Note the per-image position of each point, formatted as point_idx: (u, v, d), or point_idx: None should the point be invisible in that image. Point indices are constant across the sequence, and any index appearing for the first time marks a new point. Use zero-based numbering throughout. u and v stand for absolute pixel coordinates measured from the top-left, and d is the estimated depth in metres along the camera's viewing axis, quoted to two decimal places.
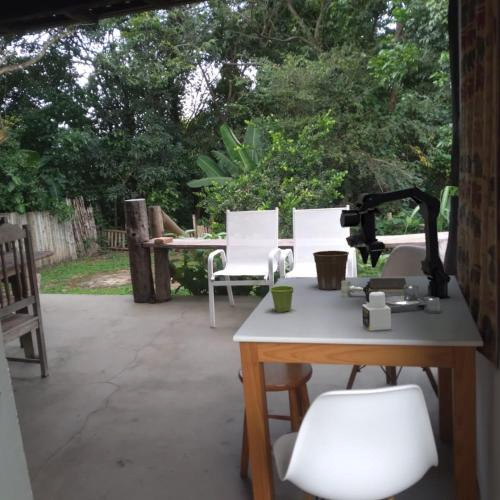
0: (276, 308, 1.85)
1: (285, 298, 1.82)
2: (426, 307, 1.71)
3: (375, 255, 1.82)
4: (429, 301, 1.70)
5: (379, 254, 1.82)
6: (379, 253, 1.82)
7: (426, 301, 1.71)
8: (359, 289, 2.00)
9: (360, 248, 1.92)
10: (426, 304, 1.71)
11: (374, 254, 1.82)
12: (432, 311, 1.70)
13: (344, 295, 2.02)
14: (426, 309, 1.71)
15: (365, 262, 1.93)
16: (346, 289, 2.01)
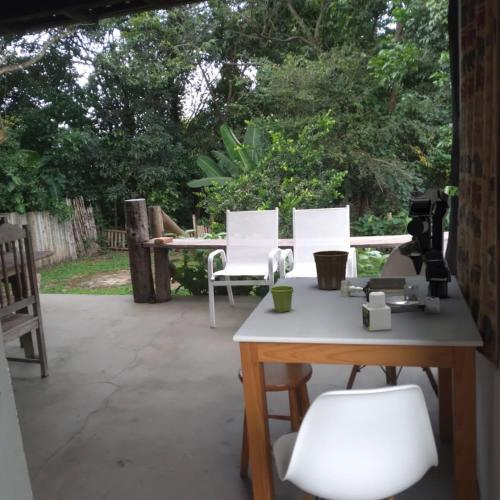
0: (276, 308, 1.85)
1: (285, 298, 1.82)
2: (426, 307, 1.71)
3: (432, 265, 1.66)
4: (429, 301, 1.70)
5: (436, 264, 1.66)
6: (436, 263, 1.66)
7: (426, 301, 1.71)
8: (359, 289, 2.00)
9: (413, 257, 1.77)
10: (426, 304, 1.71)
11: (430, 264, 1.66)
12: (432, 311, 1.70)
13: (344, 295, 2.02)
14: (426, 309, 1.71)
15: (418, 272, 1.77)
16: (346, 289, 2.01)
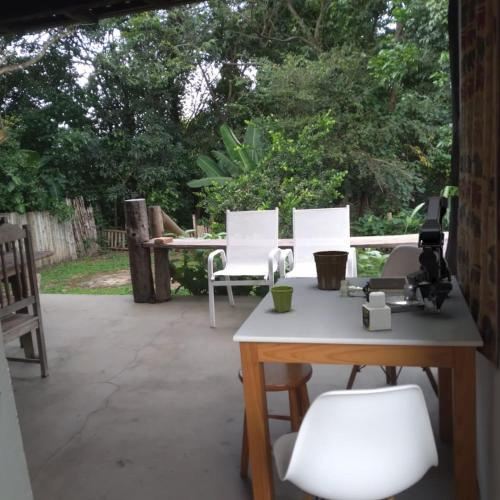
0: (276, 308, 1.85)
1: (285, 298, 1.82)
2: (426, 307, 1.71)
3: (441, 296, 1.66)
4: (429, 301, 1.70)
5: (445, 295, 1.65)
6: (445, 294, 1.65)
7: (426, 301, 1.71)
8: (358, 289, 2.00)
9: (420, 286, 1.76)
10: (426, 304, 1.71)
11: (440, 295, 1.66)
12: (432, 311, 1.70)
13: (343, 295, 2.02)
14: (426, 309, 1.71)
15: None
16: (345, 289, 2.01)
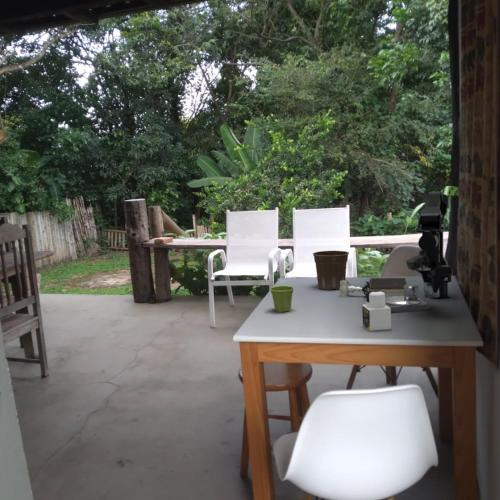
0: (276, 308, 1.85)
1: (285, 298, 1.82)
2: (426, 291, 1.70)
3: (438, 279, 1.67)
4: (428, 286, 1.69)
5: (442, 278, 1.66)
6: (442, 277, 1.66)
7: (425, 285, 1.70)
8: (358, 289, 2.00)
9: (422, 272, 1.73)
10: (426, 288, 1.70)
11: (437, 278, 1.67)
12: (432, 295, 1.69)
13: (343, 295, 2.02)
14: (426, 293, 1.70)
15: None
16: (345, 289, 2.02)
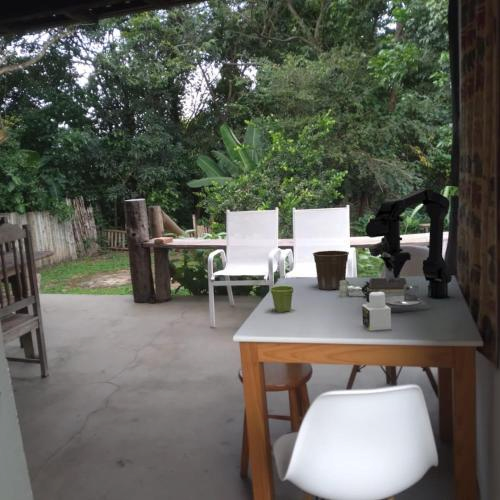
0: (276, 308, 1.85)
1: (285, 298, 1.82)
2: (387, 277, 1.79)
3: (398, 265, 1.75)
4: (389, 271, 1.78)
5: (402, 264, 1.75)
6: (402, 263, 1.75)
7: (387, 271, 1.78)
8: (357, 289, 2.01)
9: (385, 258, 1.82)
10: (387, 274, 1.78)
11: (397, 264, 1.75)
12: (393, 280, 1.77)
13: (342, 295, 2.03)
14: (388, 278, 1.78)
15: None
16: (344, 289, 2.02)
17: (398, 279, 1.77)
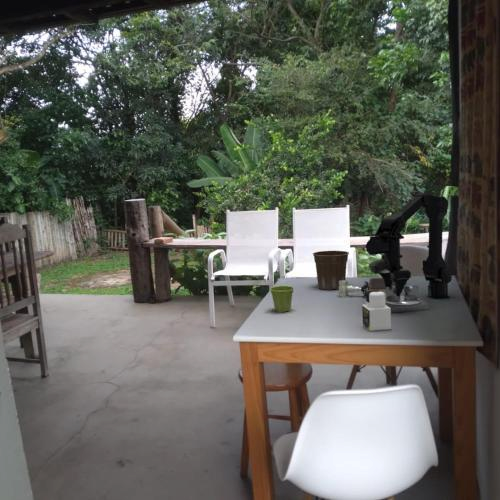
0: (276, 308, 1.85)
1: (285, 298, 1.82)
2: (387, 296, 1.80)
3: (400, 283, 1.74)
4: (389, 291, 1.78)
5: (404, 282, 1.74)
6: (404, 281, 1.74)
7: (387, 290, 1.79)
8: (357, 289, 2.01)
9: (383, 274, 1.84)
10: (387, 293, 1.80)
11: (399, 282, 1.74)
12: (393, 300, 1.78)
13: (342, 295, 2.03)
14: (388, 297, 1.79)
15: None
16: (344, 289, 2.02)
17: (398, 299, 1.79)
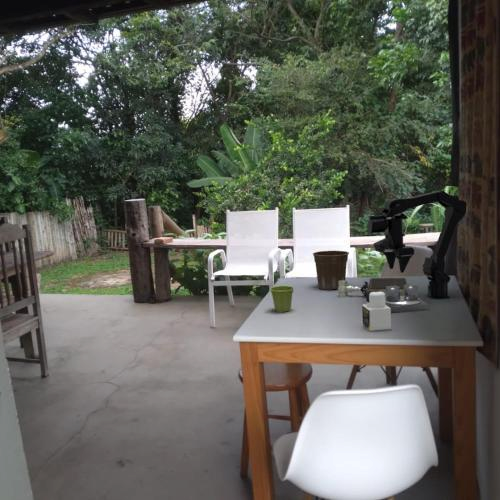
0: (276, 308, 1.85)
1: (285, 298, 1.82)
2: (387, 296, 1.80)
3: (404, 260, 1.84)
4: (389, 290, 1.79)
5: (408, 259, 1.84)
6: (408, 258, 1.84)
7: (387, 290, 1.79)
8: (356, 289, 2.01)
9: (386, 253, 1.94)
10: (387, 293, 1.80)
11: (403, 259, 1.84)
12: (393, 300, 1.78)
13: (341, 295, 2.03)
14: (388, 297, 1.80)
15: (391, 267, 1.95)
16: (343, 289, 2.02)
17: (398, 299, 1.79)
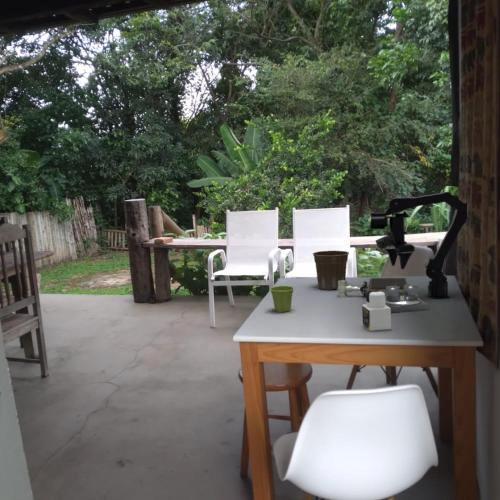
0: (276, 308, 1.85)
1: (285, 298, 1.82)
2: (387, 296, 1.80)
3: (404, 257, 1.90)
4: (389, 290, 1.79)
5: (408, 256, 1.90)
6: (408, 255, 1.89)
7: (387, 290, 1.79)
8: (356, 289, 2.01)
9: (388, 250, 2.00)
10: (387, 293, 1.80)
11: (403, 256, 1.90)
12: (393, 300, 1.78)
13: (341, 295, 2.03)
14: (388, 297, 1.80)
15: (393, 264, 2.01)
16: (343, 289, 2.02)
17: (398, 299, 1.79)
